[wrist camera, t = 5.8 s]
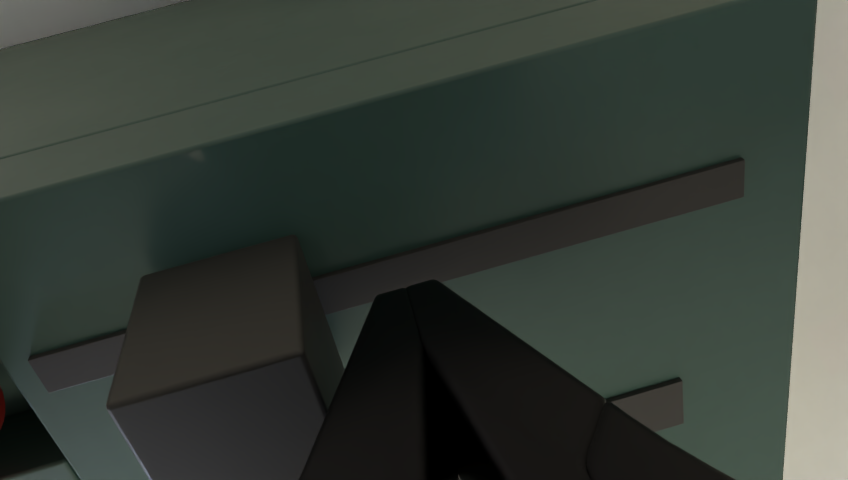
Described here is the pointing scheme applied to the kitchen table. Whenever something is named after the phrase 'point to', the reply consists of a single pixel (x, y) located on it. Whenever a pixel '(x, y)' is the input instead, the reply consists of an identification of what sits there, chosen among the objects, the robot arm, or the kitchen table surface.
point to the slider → (226, 367)
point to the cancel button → (2, 408)
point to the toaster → (420, 193)
